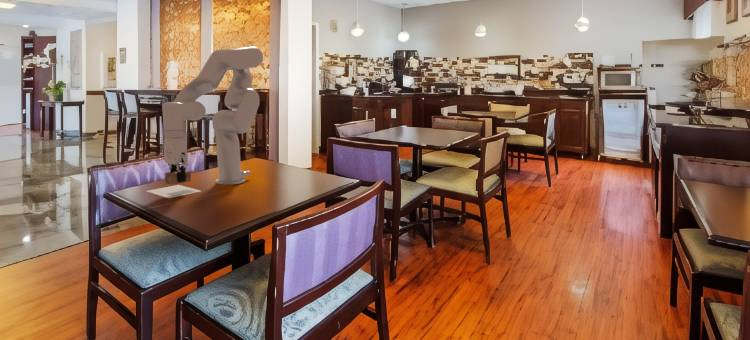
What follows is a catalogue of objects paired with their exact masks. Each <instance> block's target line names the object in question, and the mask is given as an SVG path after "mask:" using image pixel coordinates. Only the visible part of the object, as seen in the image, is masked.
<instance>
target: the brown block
mask: <svg viewBox="0 0 750 340" xmlns="http://www.w3.org/2000/svg"><path fill="white" fill-rule="evenodd" d="M177 172H178V171H175V172H170V171H169V172H165V173H164V180H165V184H168V185H171V186H173V185H179V184H182V183H183V184H184V183H188V182H192V179H191V177H192V175H191V171H190V170H186V171H185V173H186V181H184V182H178V181H177Z"/></svg>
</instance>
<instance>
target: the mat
mask: <svg viewBox="0 0 750 340" xmlns="http://www.w3.org/2000/svg"><path fill="white" fill-rule="evenodd" d="M146 192H147V193H150V194H154V195H156V196H159V197H164V198H166V199H172V198H175V197H177V198H178V197H181V196H185V195H186V196H187V195H190V194H195V193H200V192H202V190H199V189H197V188H193V187H188V186H185V185H182V184H181V185H180V184H174V185H171V186H165V187H159V188H155V189H149V190H146Z"/></svg>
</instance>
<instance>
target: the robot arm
mask: <svg viewBox="0 0 750 340" xmlns="http://www.w3.org/2000/svg"><path fill="white" fill-rule="evenodd" d="M263 61H264V55H263V52H262V51H261V49H260V48H258V47H257V46H243V47H242V46H241V47H240V46H239V47H234V48H227V49H225V48H224V49H223V48H221V49H216V50H213V52H211V54H210V56H209V57H208V59H207V60H206V62H205V63H204V65H203V67H202V69H201V70H200V72H199V73H198V75H197V76H196V77H195V78H193V79H192V80H191V81H190V82H188V83H187V84H186V85H185V86H184V87H183V88H181V90H180V91H179V93H177V96H176V97H175V99H174V101H167V102H163V103H162V106H161V107H162V109H161V110H162V122H163V136H164V139H163V141H164V142H163V159H164V162H165V163H167V165H168V169H169V172H175V171H178V172H177V181H178V182H184V181H186V173H185V171H187V167H188V166H189V162H188V161H189V156H188V155H189V154H188V148H187V147H188V146H187V141H186V138H187V137H186V122H185V121H186V120H187V121H199V120H201V119H203V118H204V117H205V115H206V114H207V113H206V106H205V105H204V104H203V103H201V102H199V101H197V99H199V98H201V96H204V95H206V94H209V93H211V92H213V91H214V90H216V89H217V88H218V87H219V85H220V83H221V82H222V80H223V79H224V77H225V75H226V73H227V72H228V71H232V79H231V81H230V84H229V87H228V89H227V92H226V94H225V96H224V105H225V106H226V108H228V109H221V110H218V111H216V112H215V113H214V114H213V116H212V123H211V124H212V128H213V130H214V135H215V142H216V155H217V156H216V157H217V169H218V171H217V172H218V178H216V179H215V180H214V182H215V184H218V185H227V186H233V185H239V184H243V183H245V182H246V178H245V177H246V176H249V175H251V171H250V170H245V171H244V170H242V163H241V148H240V145H241V144H240V139H239V136H238V134H245V133H247V132H248V131H249V130H250V129H251V127H252V125H253V123H254V120H255V117H256V115H257V112H258V109H259V107H260V95H259V93H258V92H257V90H255V89H253V88H251V87H252V85H253V76H252V73H251V71H250V69H252V68H257V67H259V66H260V65H262V63H263ZM184 183H185V182H184Z"/></svg>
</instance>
